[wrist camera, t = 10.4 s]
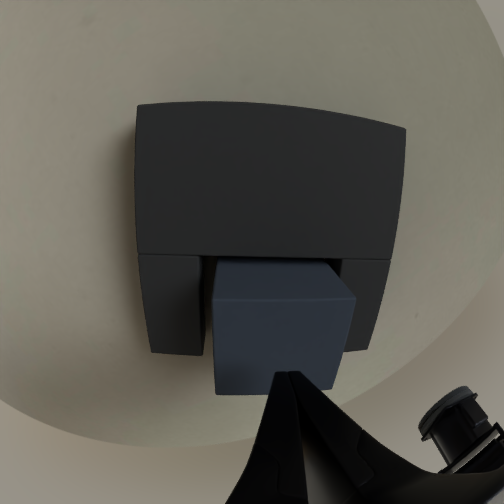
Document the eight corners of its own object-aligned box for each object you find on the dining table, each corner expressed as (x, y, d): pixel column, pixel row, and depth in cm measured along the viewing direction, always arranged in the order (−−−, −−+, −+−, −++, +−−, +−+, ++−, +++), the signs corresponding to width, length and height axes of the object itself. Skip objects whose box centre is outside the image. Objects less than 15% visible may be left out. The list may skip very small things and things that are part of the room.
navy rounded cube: (307, 330, 16) (332, 389, 11) (218, 331, 15) (215, 395, 11) (319, 253, 14) (357, 298, 9) (218, 251, 14) (211, 299, 9)
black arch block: (355, 331, 16) (367, 350, 14) (158, 332, 15) (150, 353, 13) (386, 130, 12) (406, 128, 10) (150, 112, 11) (136, 104, 9)
